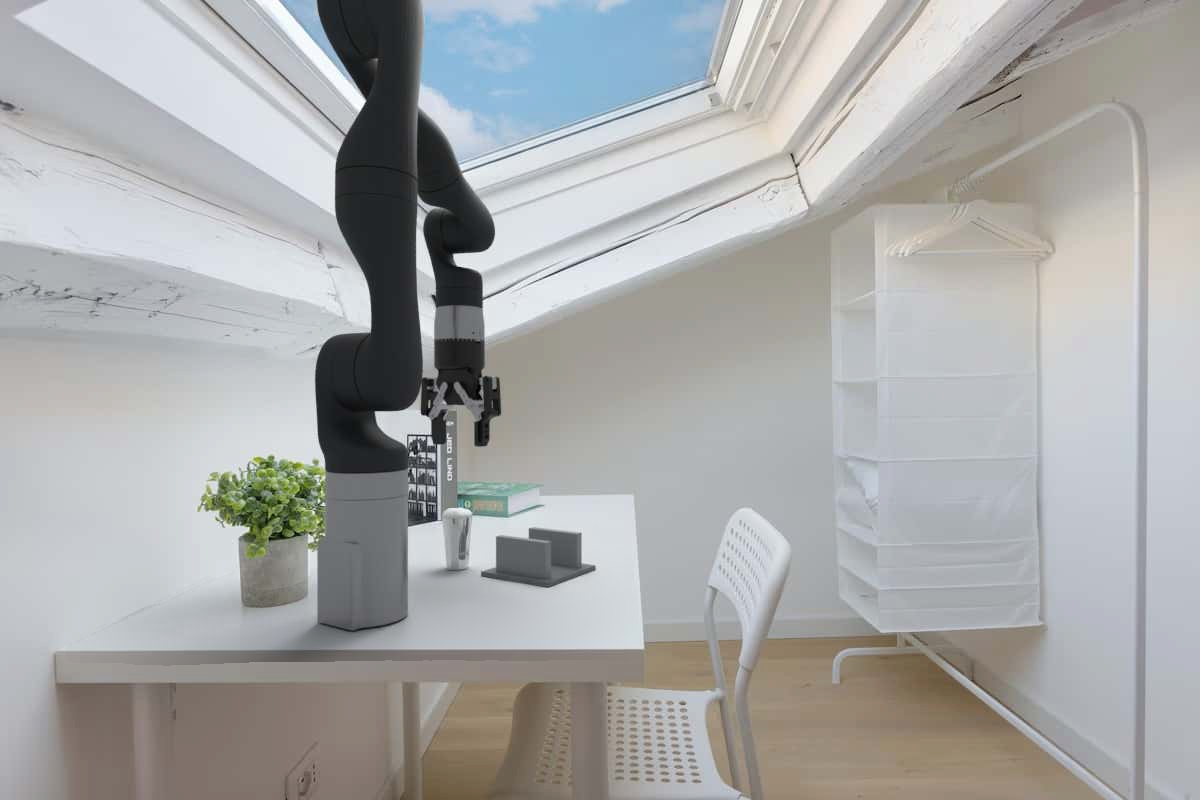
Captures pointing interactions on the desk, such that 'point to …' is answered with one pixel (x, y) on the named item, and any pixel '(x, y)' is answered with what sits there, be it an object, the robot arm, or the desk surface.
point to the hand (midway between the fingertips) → (460, 445)
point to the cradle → (539, 557)
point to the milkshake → (457, 537)
